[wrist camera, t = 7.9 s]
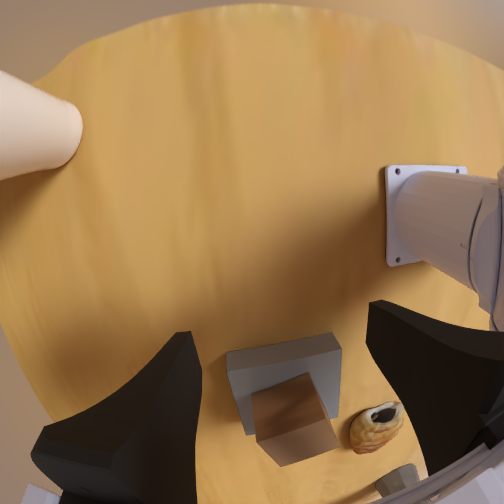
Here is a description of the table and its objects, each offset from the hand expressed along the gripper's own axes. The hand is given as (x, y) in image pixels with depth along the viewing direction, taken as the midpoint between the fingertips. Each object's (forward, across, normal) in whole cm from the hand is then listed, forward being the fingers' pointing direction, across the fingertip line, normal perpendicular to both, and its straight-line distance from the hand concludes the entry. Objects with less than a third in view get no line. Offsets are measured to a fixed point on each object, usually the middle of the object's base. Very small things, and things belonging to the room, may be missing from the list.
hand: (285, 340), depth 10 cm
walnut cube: (+7, -1, +12) cm, 14 cm away
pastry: (+10, -12, +24) cm, 28 cm away
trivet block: (+10, -1, +12) cm, 16 cm away
